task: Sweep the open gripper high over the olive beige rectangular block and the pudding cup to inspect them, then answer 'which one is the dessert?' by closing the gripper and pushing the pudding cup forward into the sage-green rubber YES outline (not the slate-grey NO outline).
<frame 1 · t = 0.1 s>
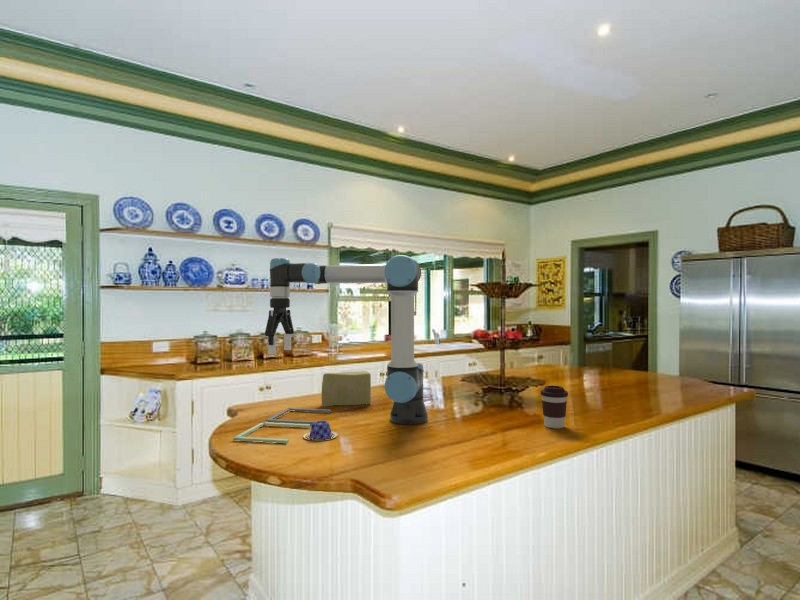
hand: (280, 351, 183), 28 cm above the countertop, fingers open, 13 cm apart
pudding: (320, 438, 164), on the countertop
coffee cup: (554, 426, 176), on the countertop
olive beige rectangular block: (345, 405, 215), on the countertop
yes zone: (275, 434, 167), on the countertop
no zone: (301, 417, 191), on the countertop
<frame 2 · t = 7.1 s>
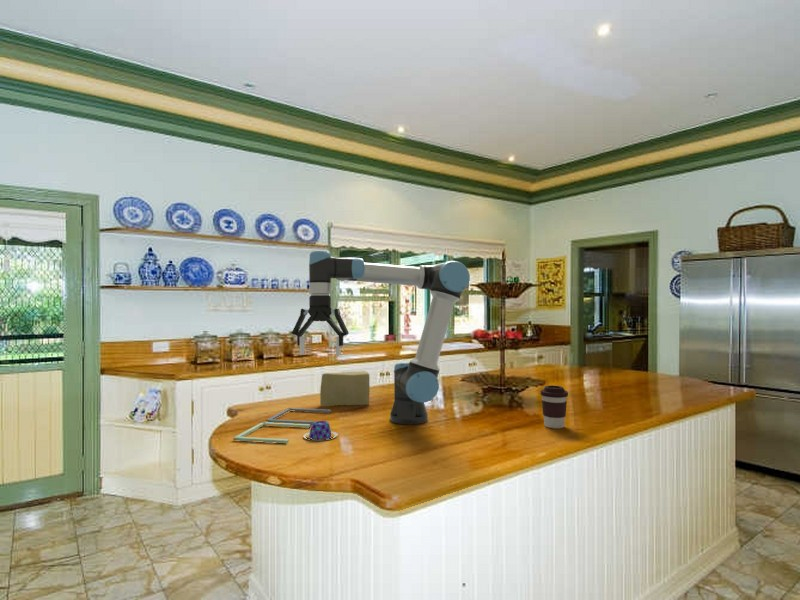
hand: (320, 355, 164), 29 cm above the countertop, fingers open, 13 cm apart
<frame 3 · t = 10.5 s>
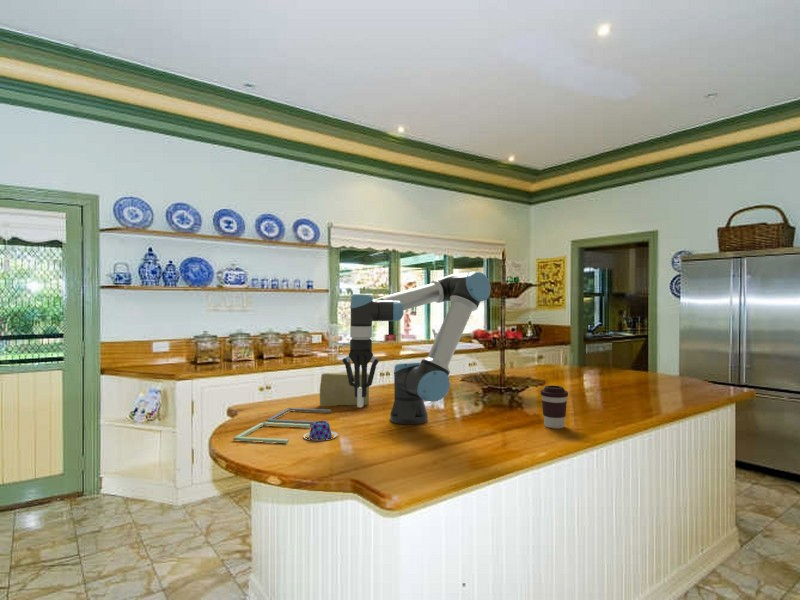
hand: (360, 406, 161), 11 cm above the countertop, fingers closed
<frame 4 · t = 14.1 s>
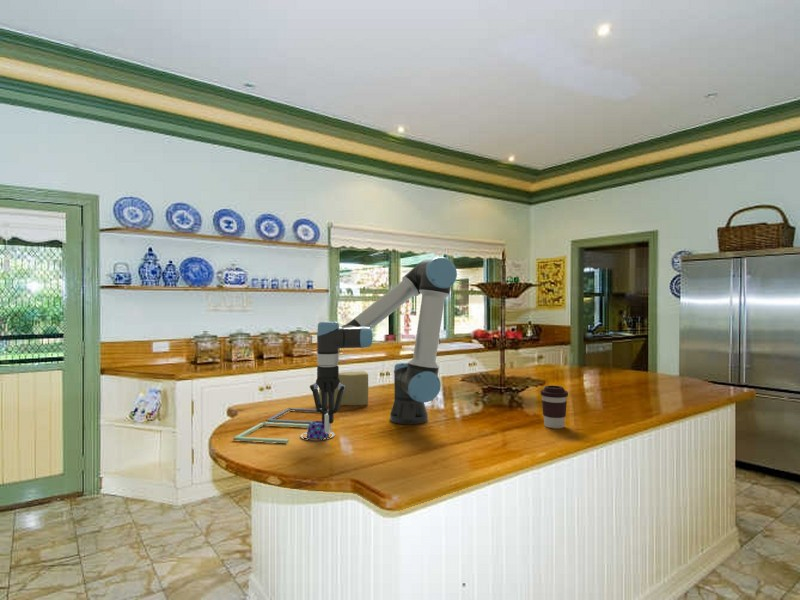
hand: (327, 432, 163), 2 cm above the countertop, fingers closed
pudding: (317, 437, 164), on the countertop
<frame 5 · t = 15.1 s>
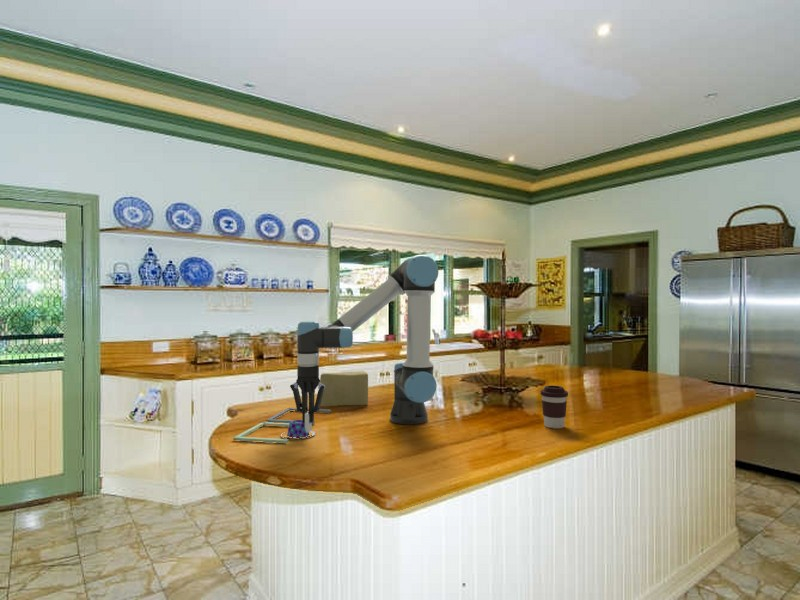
hand: (308, 431, 165), 2 cm above the countertop, fingers closed
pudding: (298, 436, 165), on the countertop, touching gripper
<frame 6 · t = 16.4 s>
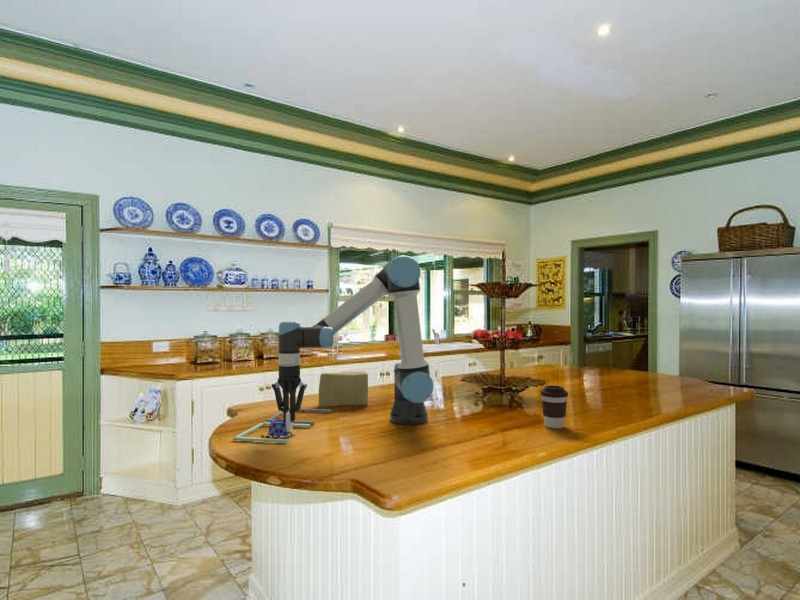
hand: (289, 430, 166), 2 cm above the countertop, fingers closed
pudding: (279, 436, 166), on the countertop, touching gripper
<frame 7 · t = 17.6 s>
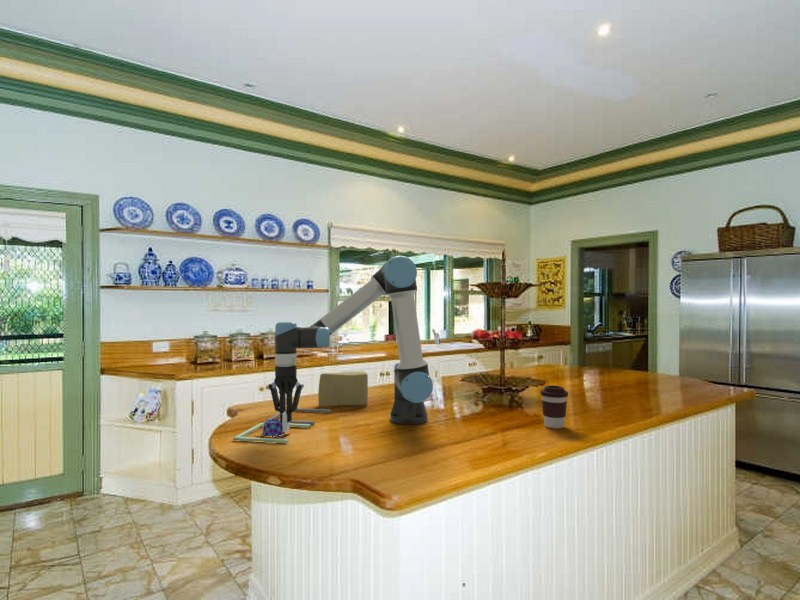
hand: (286, 430, 166), 1 cm above the countertop, fingers closed
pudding: (273, 436, 167), on the countertop
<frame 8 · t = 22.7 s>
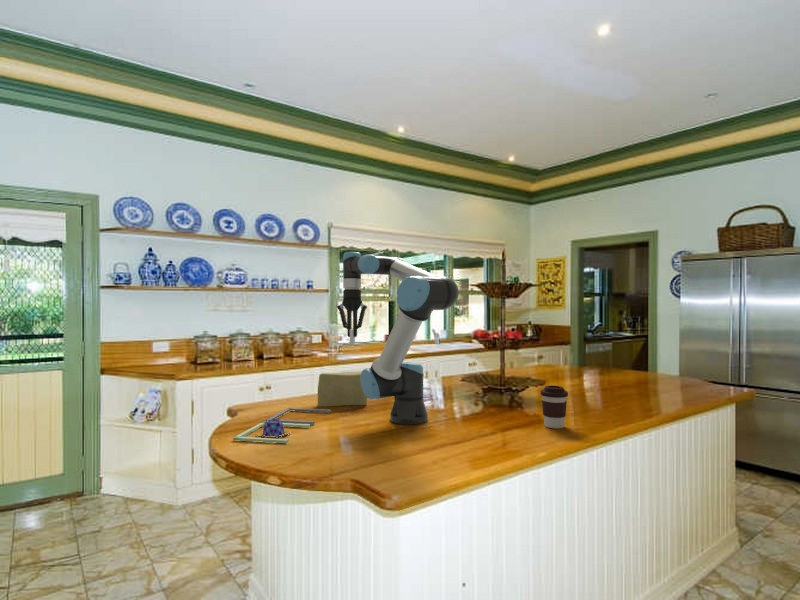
hand: (352, 344, 196), 29 cm above the countertop, fingers closed
at the end: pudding inside the target area on the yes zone (0.7 cm from its centre), point -0.5 cm above the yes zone's base; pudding tilted 0° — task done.
